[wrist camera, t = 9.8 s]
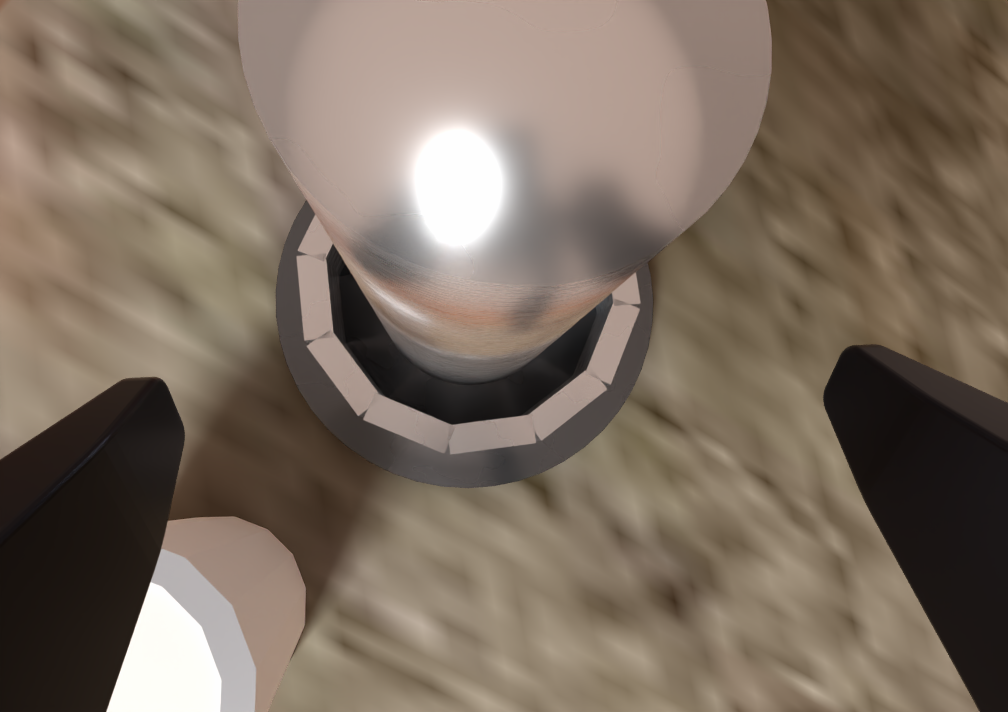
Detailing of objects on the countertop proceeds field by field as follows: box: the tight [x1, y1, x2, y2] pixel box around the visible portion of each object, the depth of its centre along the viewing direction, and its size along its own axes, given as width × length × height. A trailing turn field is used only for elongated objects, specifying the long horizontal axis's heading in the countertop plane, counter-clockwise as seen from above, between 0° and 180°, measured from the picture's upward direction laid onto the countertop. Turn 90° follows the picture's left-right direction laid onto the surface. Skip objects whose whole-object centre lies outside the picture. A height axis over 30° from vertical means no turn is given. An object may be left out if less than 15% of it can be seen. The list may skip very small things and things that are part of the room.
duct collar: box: [276, 200, 653, 488], centre depth 19 cm, size 12×12×3 cm
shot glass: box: [107, 516, 306, 712], centre depth 15 cm, size 7×7×7 cm
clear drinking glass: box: [238, 0, 772, 386], centre depth 13 cm, size 6×6×13 cm
